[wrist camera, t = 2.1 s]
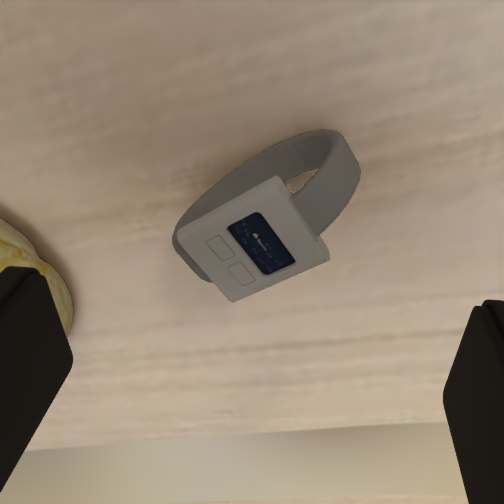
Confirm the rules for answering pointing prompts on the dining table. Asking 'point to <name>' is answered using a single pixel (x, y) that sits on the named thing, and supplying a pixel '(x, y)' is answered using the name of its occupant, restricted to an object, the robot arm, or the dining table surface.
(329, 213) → the wristwatch
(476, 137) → the dining table surface
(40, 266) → the bread roll
